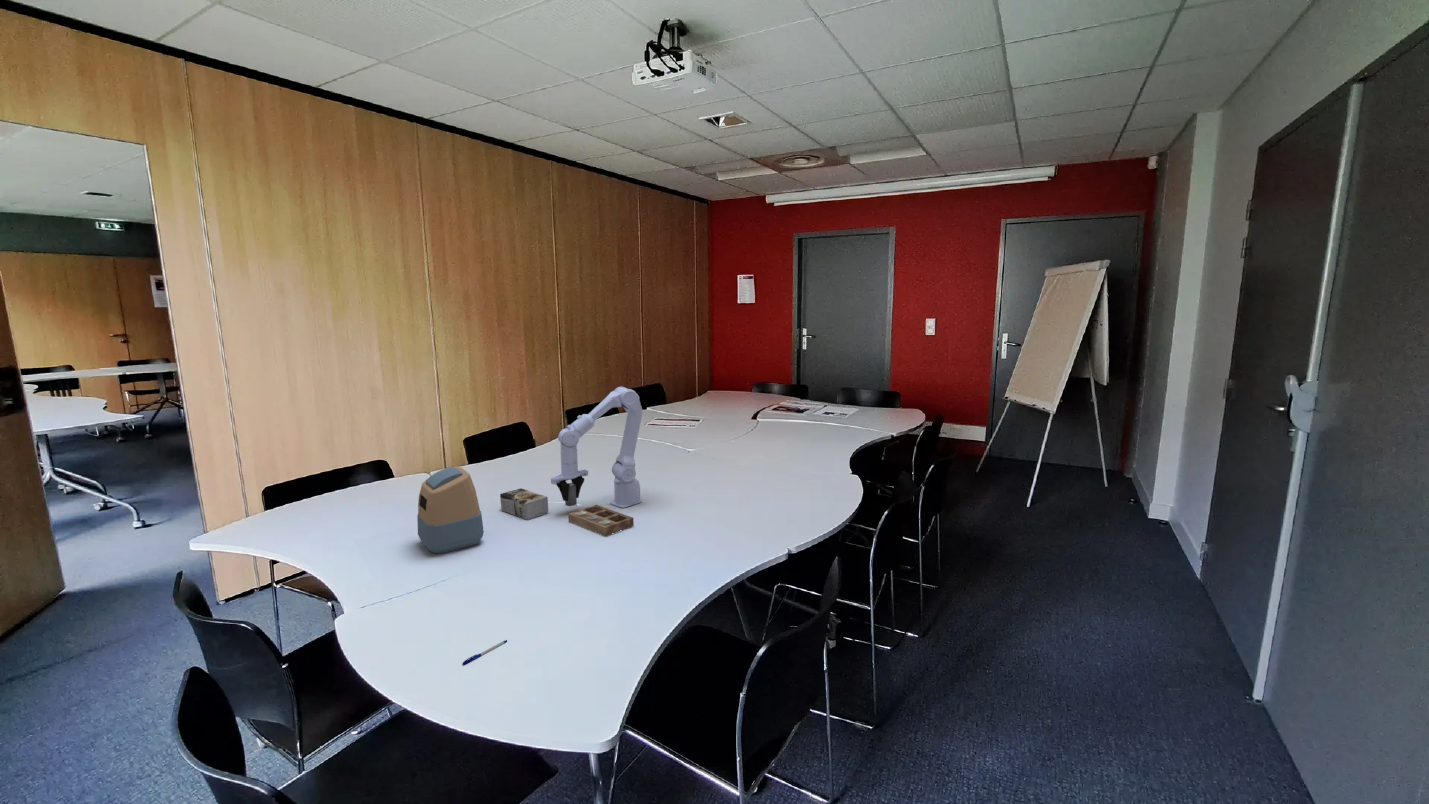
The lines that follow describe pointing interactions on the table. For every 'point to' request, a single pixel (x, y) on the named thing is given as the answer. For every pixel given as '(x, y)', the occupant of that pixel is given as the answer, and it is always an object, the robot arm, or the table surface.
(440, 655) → the table surface
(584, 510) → the socket board
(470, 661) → the ballpoint pen
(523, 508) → the coffee box
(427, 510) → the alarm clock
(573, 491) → the plug
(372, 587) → the table surface
